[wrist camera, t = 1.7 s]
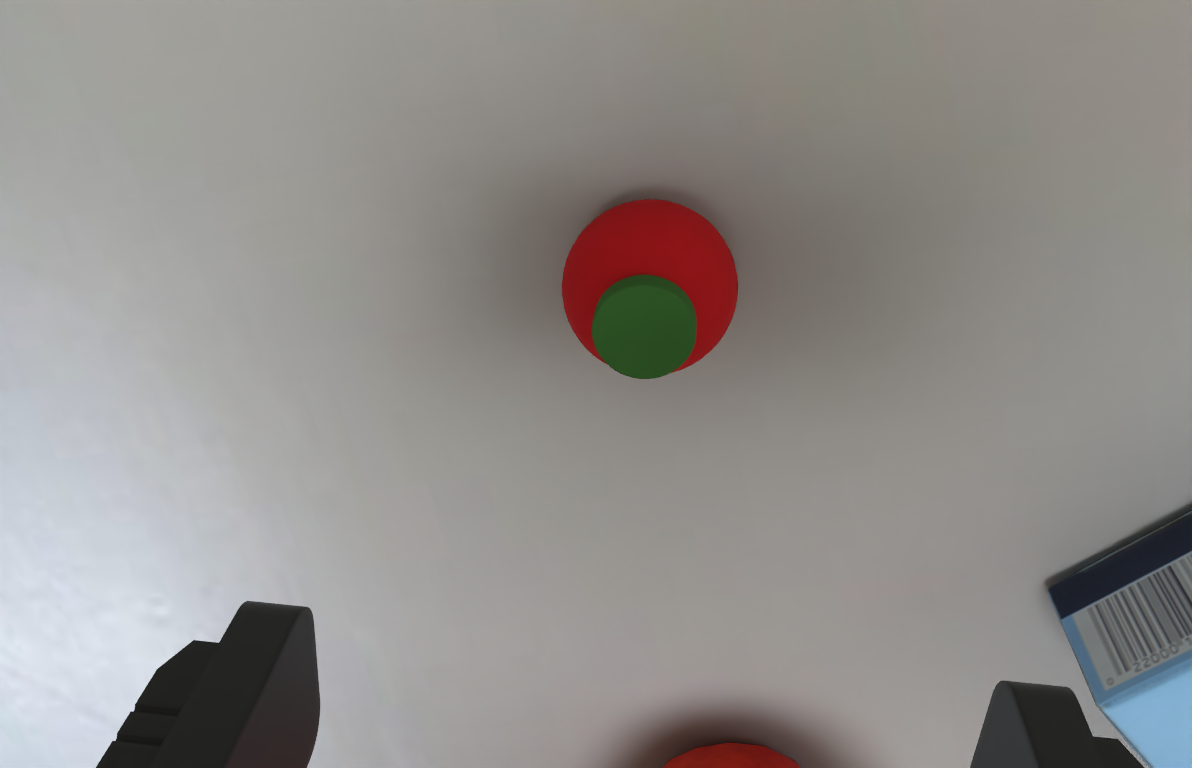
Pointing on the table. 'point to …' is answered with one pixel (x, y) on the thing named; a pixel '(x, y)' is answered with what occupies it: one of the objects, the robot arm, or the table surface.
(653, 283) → the strawberry
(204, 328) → the table surface
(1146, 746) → the gum box
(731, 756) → the apple
